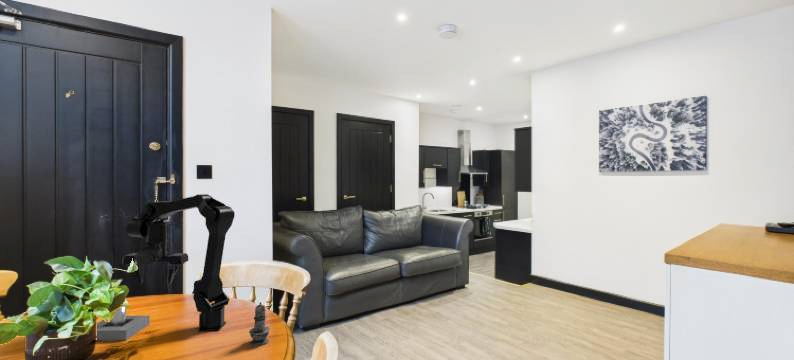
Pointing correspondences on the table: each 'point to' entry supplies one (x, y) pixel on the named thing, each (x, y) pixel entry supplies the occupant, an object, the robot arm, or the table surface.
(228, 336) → the table surface
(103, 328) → the socket block
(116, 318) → the grey metallic cylinder
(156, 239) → the robot arm
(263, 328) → the grey tower figurine
